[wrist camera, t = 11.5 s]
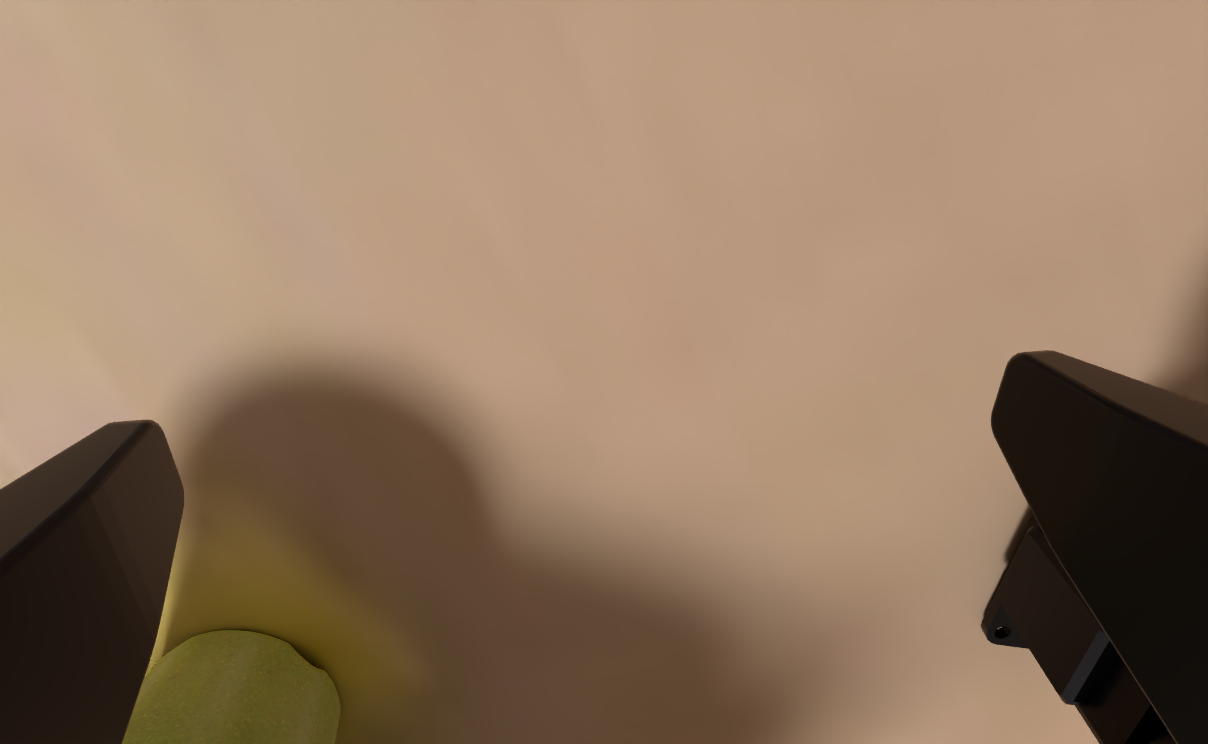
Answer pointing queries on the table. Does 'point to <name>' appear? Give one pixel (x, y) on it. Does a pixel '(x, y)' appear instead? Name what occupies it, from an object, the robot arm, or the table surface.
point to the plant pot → (234, 695)
